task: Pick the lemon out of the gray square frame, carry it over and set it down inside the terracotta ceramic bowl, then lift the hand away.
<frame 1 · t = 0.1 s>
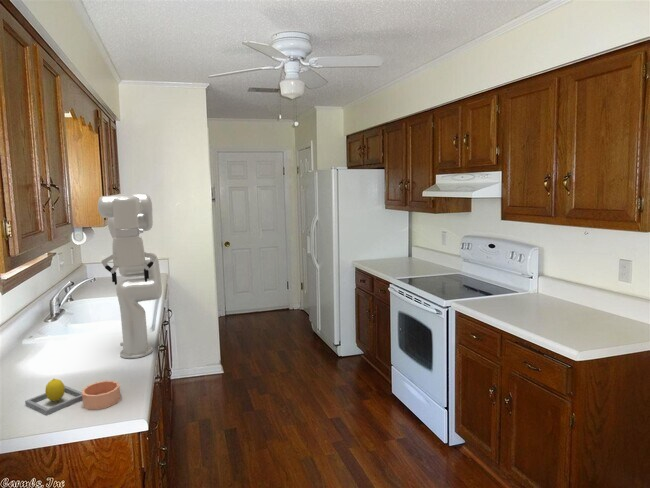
hand: (131, 282, 163), 37 cm above the counter, tool pointing down, fingers open, 9 cm apart
gray square frame: (56, 401, 157), on the counter
lemon: (56, 402, 157), resting in gray square frame
bowl: (102, 401, 157), on the counter
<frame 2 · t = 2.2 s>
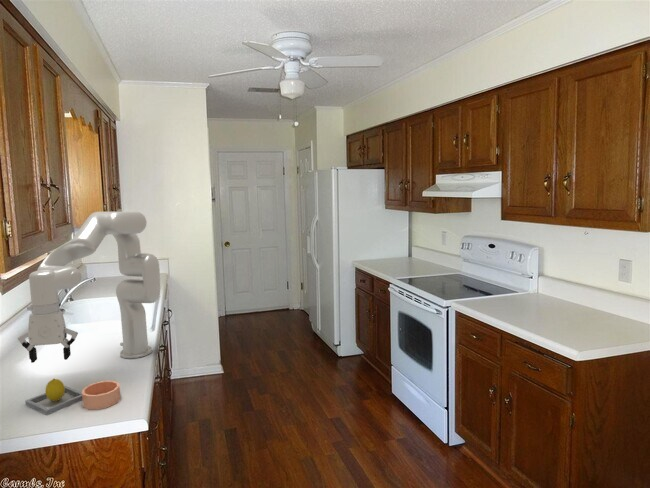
hand: (50, 359, 154), 15 cm above the counter, tool pointing down, fingers open, 9 cm apart
nothing on the counter moved.
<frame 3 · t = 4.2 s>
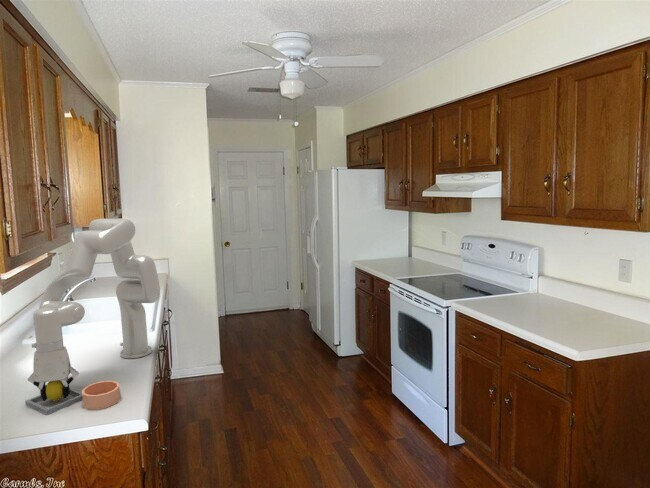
hand: (55, 397, 157), 2 cm above the counter, tool pointing down, fingers closed on lemon, 5 cm apart
lemon: (56, 402, 157), resting in gray square frame, touching gripper
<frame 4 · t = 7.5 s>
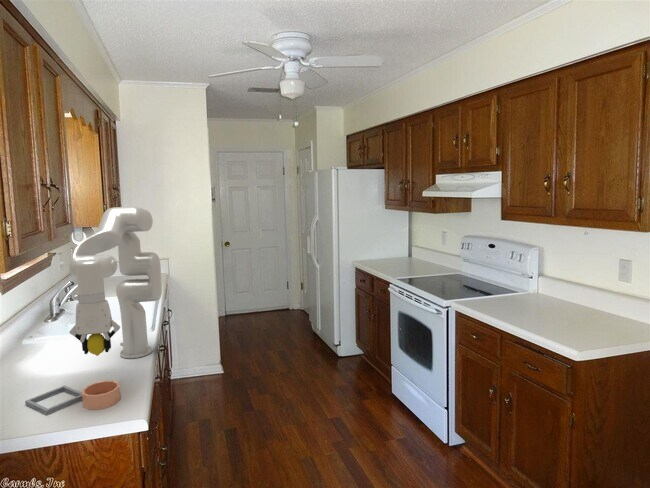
hand: (97, 351, 154), 17 cm above the counter, tool pointing down, fingers closed on lemon, 5 cm apart
lemon: (97, 356, 155), point 16 cm above the counter, touching gripper
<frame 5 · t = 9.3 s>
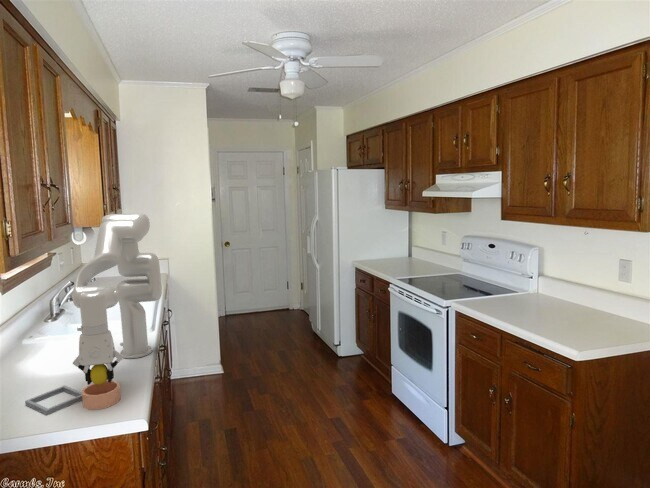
hand: (100, 381, 156), 7 cm above the counter, tool pointing down, fingers closed on lemon, 5 cm apart
lemon: (100, 386, 156), point 5 cm above the counter, touching gripper
when the fingers open (5 cm above the counter, at t = 10.6 s): lemon drops 2 cm, resting on bowl.
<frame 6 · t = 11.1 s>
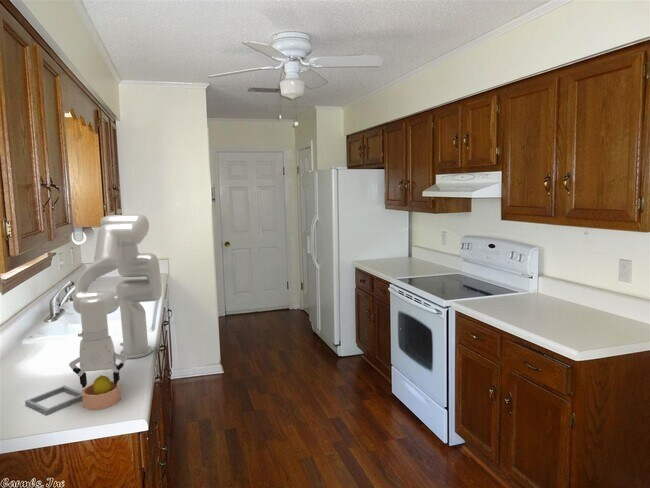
hand: (100, 384, 156), 6 cm above the counter, tool pointing down, fingers open, 9 cm apart
lemon: (103, 398, 157), point 1 cm above the counter, touching bowl
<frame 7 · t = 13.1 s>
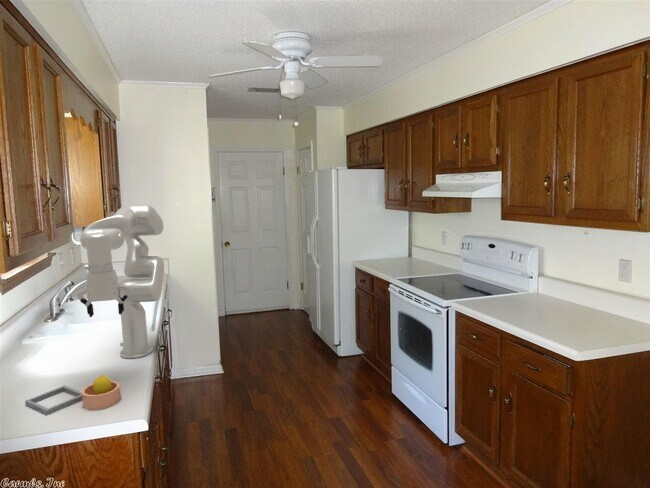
hand: (106, 314, 168), 25 cm above the counter, tool pointing down, fingers open, 9 cm apart
nothing on the counter moved.
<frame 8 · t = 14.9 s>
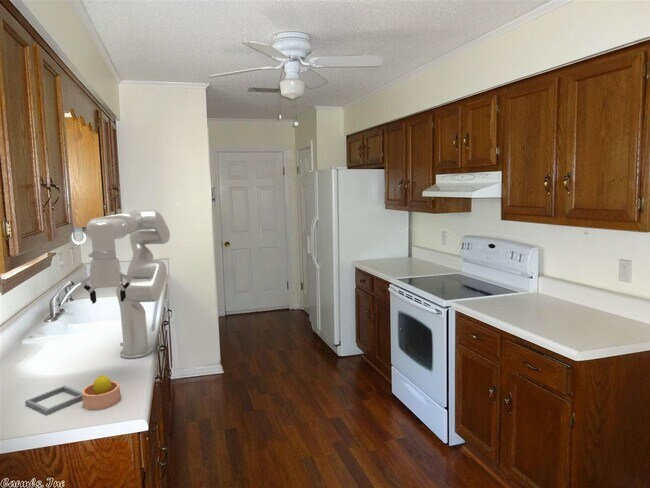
hand: (108, 301, 173), 28 cm above the counter, tool pointing down, fingers open, 9 cm apart
nothing on the counter moved.
at the end: lemon 0.5 cm from the bowl (horizontally); lemon touching bowl; the gripper is holding nothing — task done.
